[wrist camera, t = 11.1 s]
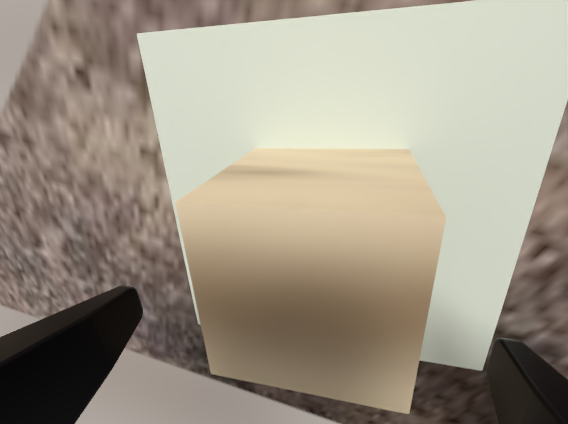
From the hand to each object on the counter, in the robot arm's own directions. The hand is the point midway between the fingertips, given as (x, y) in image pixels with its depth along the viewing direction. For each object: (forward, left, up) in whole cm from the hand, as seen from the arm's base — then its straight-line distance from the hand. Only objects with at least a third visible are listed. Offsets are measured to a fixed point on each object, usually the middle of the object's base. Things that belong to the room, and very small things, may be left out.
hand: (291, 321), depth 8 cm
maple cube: (0, 0, -6) cm, 6 cm away
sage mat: (0, 0, -7) cm, 7 cm away
